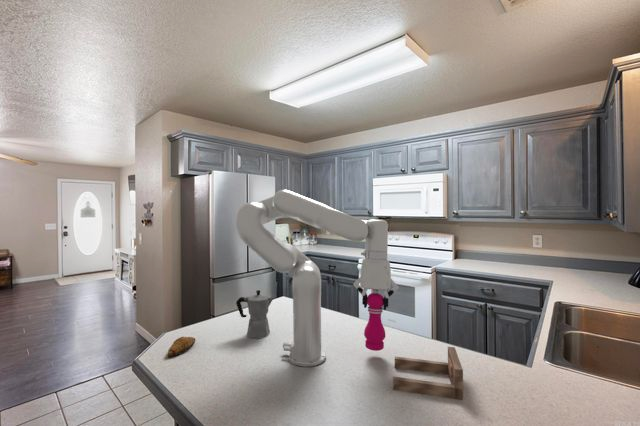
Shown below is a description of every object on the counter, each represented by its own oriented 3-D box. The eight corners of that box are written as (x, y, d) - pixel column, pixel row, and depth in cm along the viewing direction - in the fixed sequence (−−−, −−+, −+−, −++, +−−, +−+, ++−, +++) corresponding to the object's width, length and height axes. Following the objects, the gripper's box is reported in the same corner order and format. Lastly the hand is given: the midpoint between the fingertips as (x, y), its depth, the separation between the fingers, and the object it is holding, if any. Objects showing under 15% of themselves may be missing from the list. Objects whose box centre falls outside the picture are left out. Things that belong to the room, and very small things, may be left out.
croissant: (177, 360, 103) (177, 345, 103) (160, 357, 105) (160, 343, 105) (202, 343, 116) (201, 330, 116) (186, 341, 118) (186, 329, 118)
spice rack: (392, 389, 85) (392, 361, 85) (394, 365, 98) (394, 340, 98) (463, 400, 80) (462, 369, 80) (454, 373, 93) (454, 347, 93)
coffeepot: (273, 328, 131) (273, 286, 131) (275, 337, 122) (275, 292, 122) (237, 331, 128) (236, 288, 128) (235, 340, 118) (235, 294, 118)
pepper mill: (385, 352, 100) (386, 292, 100) (363, 350, 101) (364, 290, 101) (385, 343, 107) (386, 287, 107) (364, 341, 108) (365, 285, 108)
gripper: (349, 255, 103) (348, 308, 103) (401, 258, 98) (400, 313, 98) (353, 252, 110) (352, 302, 110) (402, 255, 105) (401, 307, 105)
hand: (375, 307), depth 104 cm, fingers closed on pepper mill, 6 cm apart
